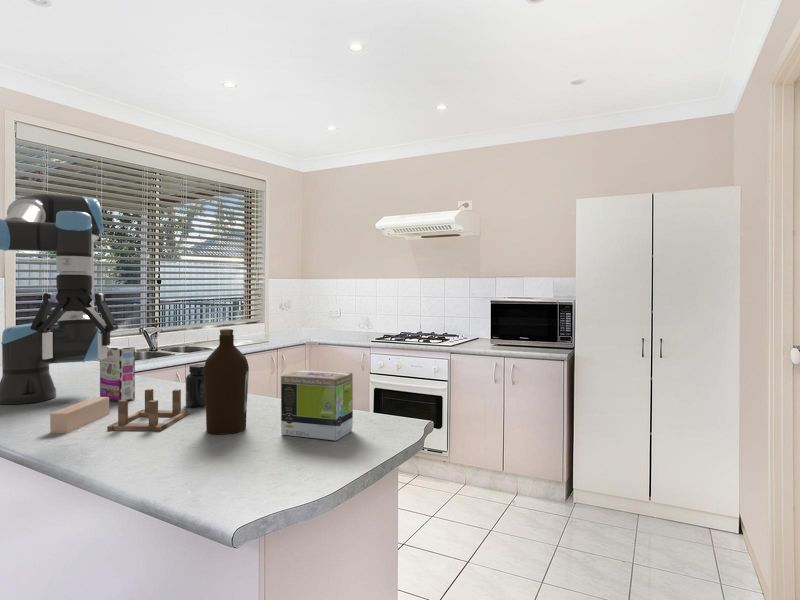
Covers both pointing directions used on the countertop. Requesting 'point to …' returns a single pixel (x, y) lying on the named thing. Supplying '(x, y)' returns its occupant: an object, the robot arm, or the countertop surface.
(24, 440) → the countertop surface
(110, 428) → the rack
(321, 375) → the tea box
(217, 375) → the olive oil
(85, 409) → the clay strip
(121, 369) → the candy bar box
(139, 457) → the countertop surface
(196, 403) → the supplement bottle
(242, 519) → the countertop surface
